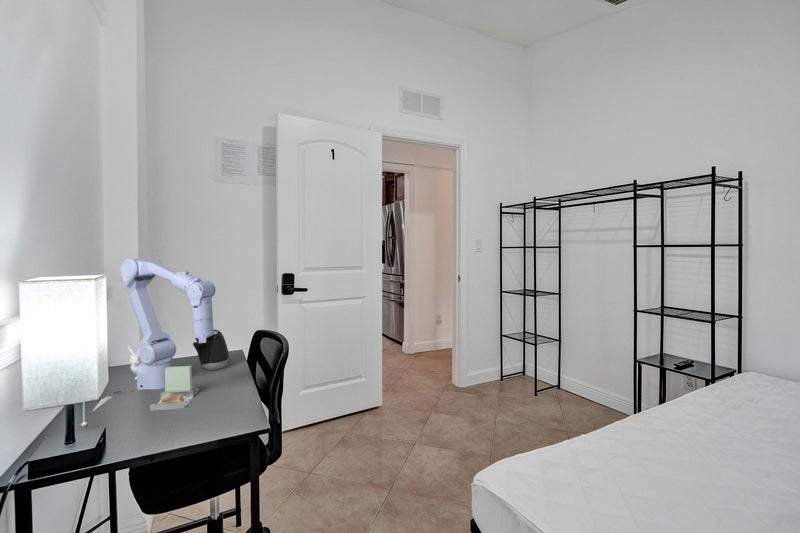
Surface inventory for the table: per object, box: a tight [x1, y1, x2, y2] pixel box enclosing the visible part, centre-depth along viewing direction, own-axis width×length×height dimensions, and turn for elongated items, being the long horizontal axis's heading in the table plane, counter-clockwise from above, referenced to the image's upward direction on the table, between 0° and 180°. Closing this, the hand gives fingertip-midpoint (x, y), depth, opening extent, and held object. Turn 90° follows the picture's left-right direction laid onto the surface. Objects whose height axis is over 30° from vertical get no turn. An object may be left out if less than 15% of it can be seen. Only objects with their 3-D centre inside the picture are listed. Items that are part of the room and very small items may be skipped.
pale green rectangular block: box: [164, 365, 193, 392], centre depth 128 cm, size 7×2×9 cm, turn 102°
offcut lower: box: [157, 398, 184, 404], centre depth 121 cm, size 6×3×1 cm, turn 102°
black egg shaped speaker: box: [201, 328, 230, 371], centre depth 159 cm, size 10×10×15 cm
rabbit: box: [127, 345, 143, 380], centre depth 149 cm, size 12×9×12 cm
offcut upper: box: [160, 395, 182, 403], centre depth 121 cm, size 5×2×1 cm, turn 102°
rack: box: [149, 385, 200, 411], centre depth 126 cm, size 9×16×3 cm, turn 12°
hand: (205, 361), depth 131 cm, fingers open, 7 cm apart
